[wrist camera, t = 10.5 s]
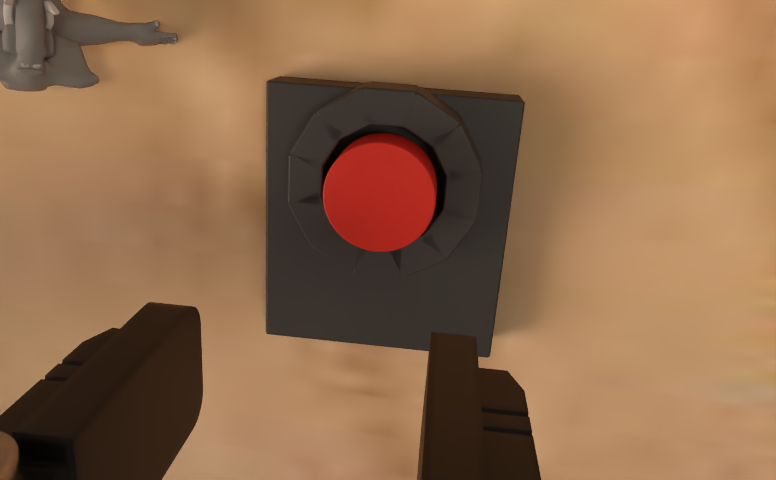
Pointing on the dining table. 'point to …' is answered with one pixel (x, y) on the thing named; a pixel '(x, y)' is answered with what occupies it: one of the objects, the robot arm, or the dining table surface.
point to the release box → (405, 265)
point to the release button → (380, 192)
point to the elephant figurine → (59, 43)
